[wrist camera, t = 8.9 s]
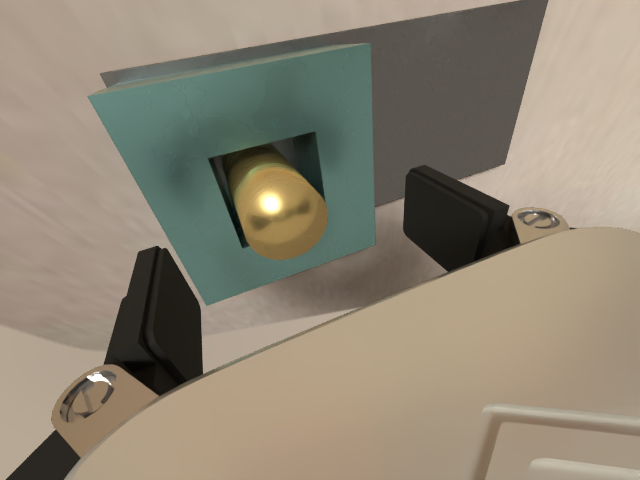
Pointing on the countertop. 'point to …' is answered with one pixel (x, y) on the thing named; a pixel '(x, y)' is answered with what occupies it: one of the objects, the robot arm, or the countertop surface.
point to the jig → (319, 127)
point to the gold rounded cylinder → (274, 202)
